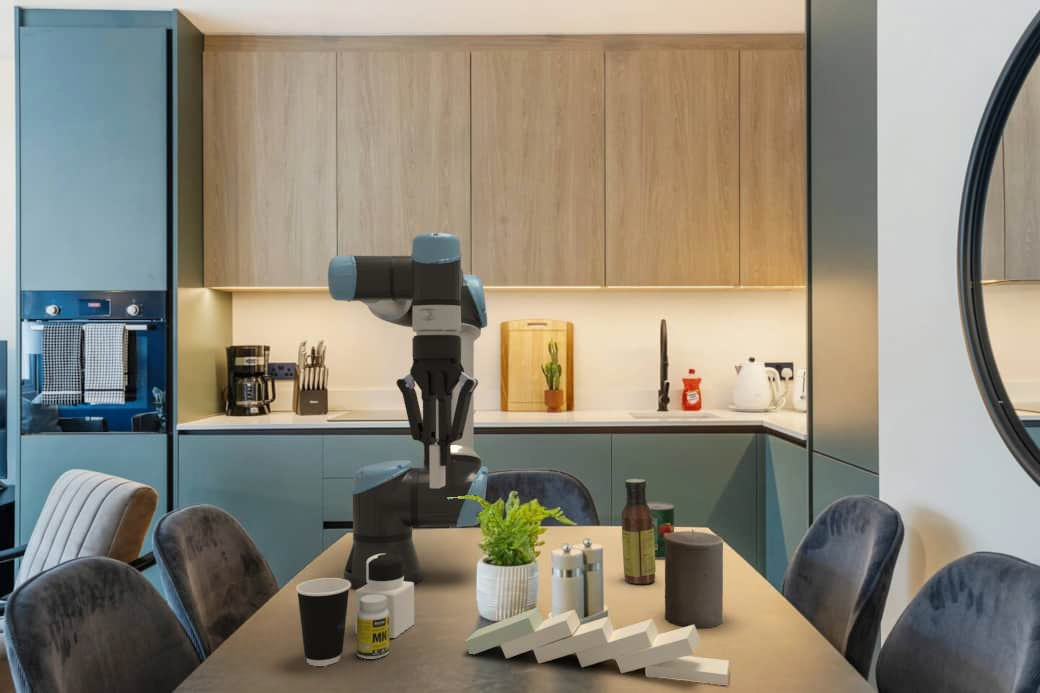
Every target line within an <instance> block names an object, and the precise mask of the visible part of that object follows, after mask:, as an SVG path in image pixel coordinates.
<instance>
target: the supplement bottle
mask: <svg viewBox="0 0 1040 693" xmlns="http://www.w3.org/2000/svg"><path fill="white" fill-rule="evenodd" d="M386 607H387V597H386V596H384V595H377V594H374V595H367V596H363V597H361V598H360V609H361V610H360V611H359V612H358V614H357V634H356V654H357V656H359V657H361V658H360V659H362V658H364V659H363V660H366V659H372V658H379V657H382V656H385V655H386V656H388V655H389V653H390V638H389V611H388V610H387V609H386ZM387 654H388V655H387ZM386 656H385V657H386ZM359 657H358V658H359ZM365 658H366V659H365Z"/></svg>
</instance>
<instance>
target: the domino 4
mask: <svg viewBox="0 0 1040 693" xmlns="http://www.w3.org/2000/svg"><path fill="white" fill-rule="evenodd" d="M701 640H702V639H701V638H700V635H699V633H698V631H697V628H696V627H695V625H690V626H687V627H684V626H682V627H680V628H677V629H673V630H670V631H666V632H663V633H659V634H658V636H657V638H656V640H655V642H654V643H653V645H652V647H648V648H645V649H642V650H638V651H635V652H632V653H628V654H625V655H622V656H618V657H615V658H614V659H615V661H616V663H617V667H618V668H619V671H620V674H624V673H628V672H633V671H635V670H639V669H643V668H645V667H647V666H651V665H654V664H658V663H662V662H666V661H669V660H673V659H677V658H681V657H684V656H692V655H694V654H695V652H696V650H697V648H698V646H699V644H700V641H701Z"/></svg>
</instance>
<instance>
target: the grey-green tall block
mask: <svg viewBox="0 0 1040 693" xmlns="http://www.w3.org/2000/svg"><path fill="white" fill-rule="evenodd" d="M544 620H545V619H544V616H543V615H542V611H541V610H540V607H539V606H536V607H534V608H532V609H530V610H529V609H528V610H526V611H524V612H521V613H519V614H516V615H513V616H510V617H508V618H505V619H502V620H500V621H497V622H495V623H492V624H489V625H487V626H485V627H481V628H479V629H477V630H475V631H474V632H473V633H472V634H471V635H470V636H469V637H467V638H466V640H465V641H464V643H465V645H466V648H467V651H468V653H469V655H470V654H473V655H476V654H479V653H481V652H484V651H486V650H489V649H492V648H495V647H497V646H501V644H503V643H506V642H509V641H512V640H514V639H517V638H520V637H522V636H525V635H528V634H531V633H533V632H535V631H536V630H537V629H538V627H539V626H540V625H541V624H542V623H543V622H544ZM473 655H472V656H473Z"/></svg>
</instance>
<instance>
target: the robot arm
mask: <svg viewBox="0 0 1040 693" xmlns="http://www.w3.org/2000/svg"><path fill="white" fill-rule="evenodd" d="M411 250H412V251H411V255H354V254H348V255H341V256H340V255H339V256H338V255H337V256H334V257H332V258H331V259H330V260H329V264H328V270H327V284H328V290H329V295H330V297H331V298H332V299H333V300H335V301H345V302H347V303H348V302H361V303H362V304H364V305H366V306H367V307H368V310H369V311H370V312H371V313H372V314H373V315H374V316H375V317H377V318H378V319H379V320H382V321H385V322H387V323H390V324H393V325H394V324H395V325H398V326H400V327H401V326H402V327H405V328H406V327H408V328H412V331H413V333H416V335H413V337H412V345H411V346H412V347H411V348H412V352H411V353H412V365H411V366H410V367H411V368H410V370H409V372H410V373H409V374H407V375H405V376H404V377H402V378H399V379H397V380H396V386H397V387H398V389H399V391H400V392H401V394H402V397H403V398H402V399H403V402H404V408H405V411H406V416H407V420H408V424H409V428H410V433H411V438H412V440H414V441H418V442H421V444H423V449H424V450H423V452H424V453H423V454H424V455H423V456H424V457H423V467H414V465H413V462H412V461H411V460H410V459H409V460H408V459H403V460H402V459H398V460H397V459H396V460H388V461H381V462H377V463H373V464H368V465H364V466H361V467H360V468H358V469H357V470H356V471H355V472H354V475H353V480H352V481H353V482H352V491H351V495H352V546H351V549H350V551H349V555H348V558H347V560H346V561H347V562H346V565H345V568H344V572H343V579H345V580H348V581H349V582H350V583H351V587H350V588H351V589H353V590H354V589H355V590H358V589H359V588H361V587H363V586H365V585H367V584H368V583H367V582H366V561H367V560H368V558H370V557H372V556H374V555H377V554H384V553H391V554H397V555H399V556H401V557H402V558H403V559H404V581H406V582H413V583H414V585H416V584H417V583H419V582H420V581H421V579H422V565H421V563H420V559H419V556H418V554H417V549H416V547H415V544H414V540H413V528H425V527H427V528H428V527H429V528H431V527H433V528H434V527H435V528H436V527H437V528H438V527H439V528H440V527H456V528H460V527H469V526H470V527H471V526H476V525H478V524H479V523H480V522H479V521H478V520H477V518H476V516H477V514H479V513H480V512H483V513H484V509H485V508H484V507H485V506H484V507H483V506H482V505H481V504H480V503H479V502H478V501H475V500H468V499H458V498H453V499H449V500H448V499H447V497H458V496H465V495H477V496H479V497H481V498H482V499H484V500H485V501H486V494H487V493H486V492H487V485H488V476H489V474H488V473H489V469H488V467H486V466H484V465H482V458H481V457H480V455H478V453H477V452H475V450H474V447H475V446H474V444H475V443H474V442H475V441H474V434H475V433H474V421H475V419H474V407H475V406H474V405H475V404H474V398H475V397H474V395H475V394H474V392H475V390H476V388H477V387H478V384H479V380H478V379H476V378H474V377H475V376H474V370H475V369H474V368H475V367H474V365H475V363H474V362H475V360H474V359H475V358H474V357H475V354H474V352H475V351H474V349H475V347H474V346H475V345H474V344H475V341H476V340H478V339H479V338H480V337H481V335H482V334H481V333H482V330H481V329H484V328H486V327H487V326H488V316H487V314H488V313H487V308H486V307H487V306H486V298H485V291H484V286H483V281H482V279H481V278H480V277H479V276H478V275H476V274H467V273H466V274H464V271H463V270H462V269H463V268H462V265H461V263H462V252H461V251H462V250H461V241H460V238H459V236H457V235H455V234H452V233H444V232H425V233H419V234H417V235H415V236H414V237H413V238H412V247H411ZM416 385H417V386H418V388H419V389H420V390H421V391H420V392H421V400H422V413H421V409H420V404H419V403H420V402H419V399H418V396H417V395H418V394H417V391H416V389H415V388H416Z"/></svg>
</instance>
